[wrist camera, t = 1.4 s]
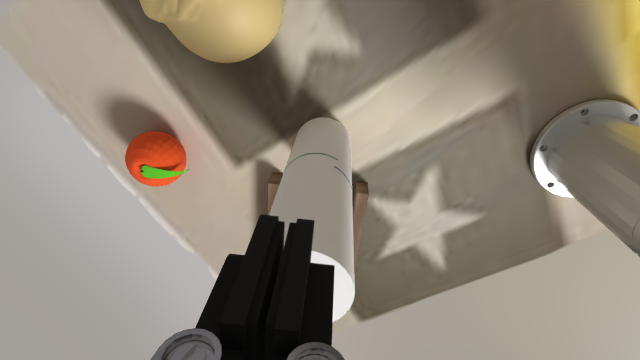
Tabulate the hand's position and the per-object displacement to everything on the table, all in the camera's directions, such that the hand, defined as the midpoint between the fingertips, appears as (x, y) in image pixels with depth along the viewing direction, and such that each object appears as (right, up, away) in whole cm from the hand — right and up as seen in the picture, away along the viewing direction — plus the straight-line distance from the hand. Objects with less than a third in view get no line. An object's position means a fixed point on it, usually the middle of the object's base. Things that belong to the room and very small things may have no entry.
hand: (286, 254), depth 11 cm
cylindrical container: (+2, +7, +34) cm, 35 cm away
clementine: (-19, +7, +36) cm, 41 cm away
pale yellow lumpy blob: (-8, +22, +26) cm, 35 cm away
